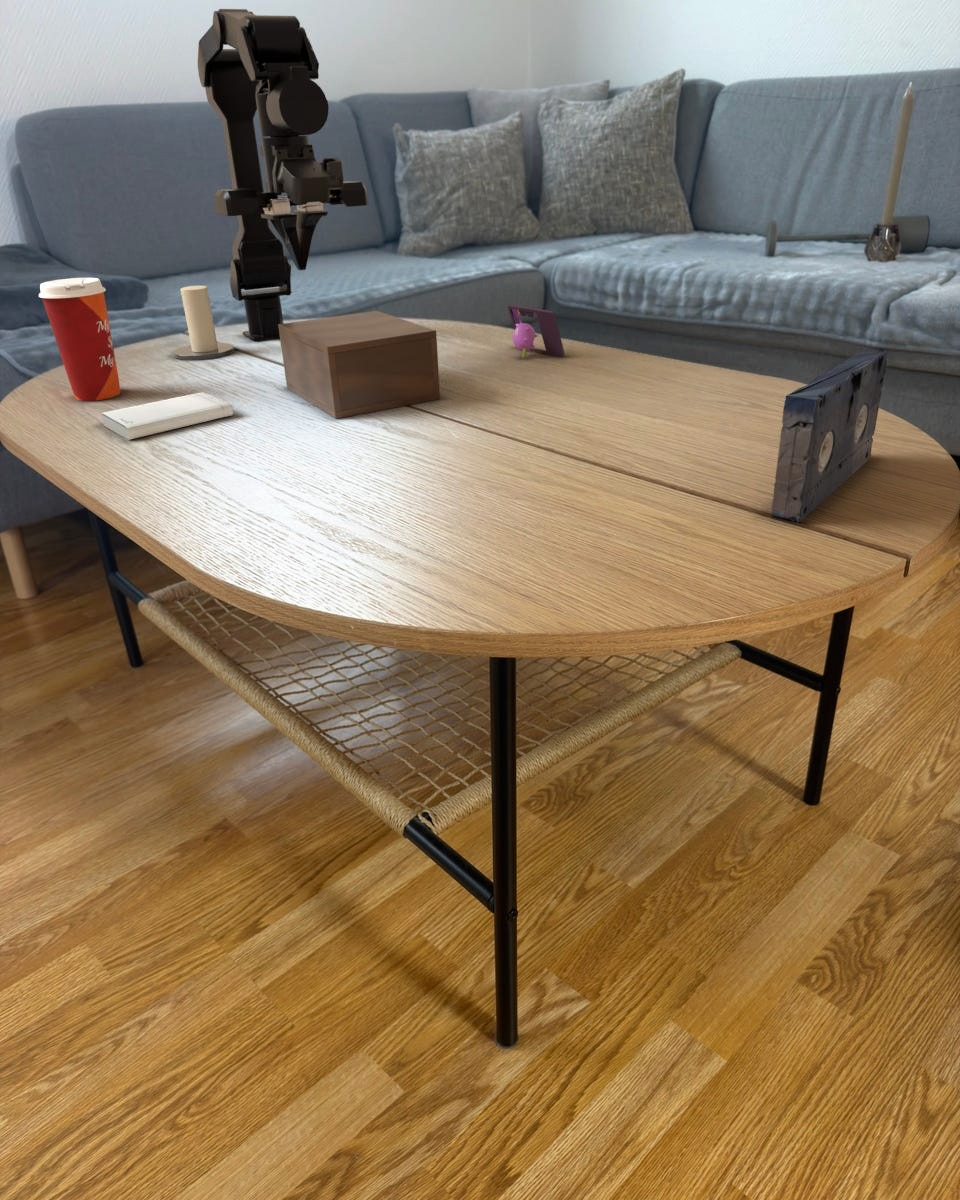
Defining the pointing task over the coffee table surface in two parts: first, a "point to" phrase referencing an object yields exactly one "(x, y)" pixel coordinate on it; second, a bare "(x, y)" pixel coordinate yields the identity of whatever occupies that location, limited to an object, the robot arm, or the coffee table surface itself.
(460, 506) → the coffee table surface
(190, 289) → the candle
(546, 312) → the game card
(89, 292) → the paper cup
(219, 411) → the hard drive
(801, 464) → the vhs cassette tape
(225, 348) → the coaster
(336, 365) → the cabinet
